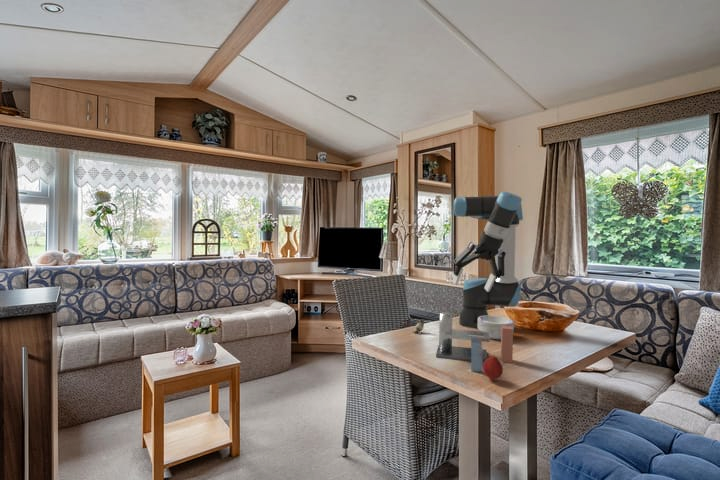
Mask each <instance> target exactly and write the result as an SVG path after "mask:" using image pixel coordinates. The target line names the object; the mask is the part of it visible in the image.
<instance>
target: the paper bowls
mask: <svg viewBox="0 0 720 480" xmlns="http://www.w3.org/2000/svg"><path fill="white" fill-rule="evenodd" d="M502 326H508V327H512V328H513V332H514V330H515V329H514V328H515V327H514V326H515V321H514V320H513V319H511V318H508V317H505V316H498V315H489V314H488V315H486V316H480V317H478V326H477V327H478V328H477V330H478V331H480V332H488V334H489V338H490V340H491V339H493V340H501V327H502Z"/></svg>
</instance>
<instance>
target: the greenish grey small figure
mask: <svg viewBox="0 0 720 480" xmlns="http://www.w3.org/2000/svg"><path fill="white" fill-rule="evenodd" d="M424 325H425V320H424V319H419V321H418V323H416V325H415V329H416V330H415V331H414V330H412V333H413V334H418V335H422V333H421V332H423V330H424Z"/></svg>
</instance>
